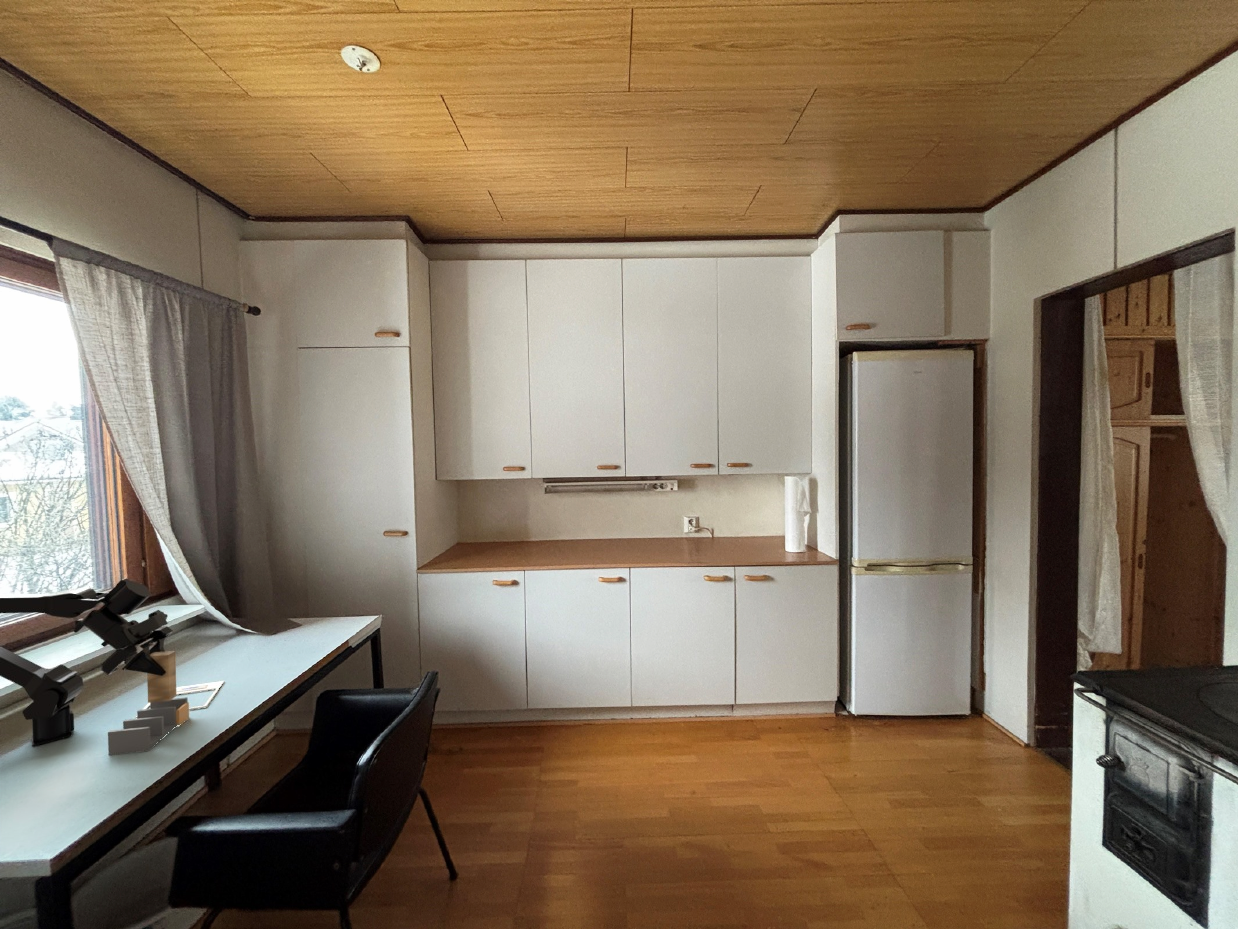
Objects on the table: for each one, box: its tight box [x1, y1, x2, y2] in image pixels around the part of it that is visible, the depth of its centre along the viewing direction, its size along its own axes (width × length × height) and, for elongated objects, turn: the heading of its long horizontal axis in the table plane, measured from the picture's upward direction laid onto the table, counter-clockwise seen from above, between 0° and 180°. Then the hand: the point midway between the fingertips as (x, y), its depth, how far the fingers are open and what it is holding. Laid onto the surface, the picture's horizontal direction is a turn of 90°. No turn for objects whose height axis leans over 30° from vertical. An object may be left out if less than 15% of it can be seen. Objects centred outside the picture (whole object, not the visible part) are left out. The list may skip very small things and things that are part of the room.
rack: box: [107, 697, 190, 756], centre depth 134 cm, size 8×16×5 cm, turn 12°
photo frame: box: [134, 680, 225, 719], centre depth 154 cm, size 15×1×18 cm
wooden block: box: [146, 650, 177, 704], centre depth 139 cm, size 4×3×11 cm, turn 102°
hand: (168, 671), depth 139 cm, fingers closed on wooden block, 3 cm apart
